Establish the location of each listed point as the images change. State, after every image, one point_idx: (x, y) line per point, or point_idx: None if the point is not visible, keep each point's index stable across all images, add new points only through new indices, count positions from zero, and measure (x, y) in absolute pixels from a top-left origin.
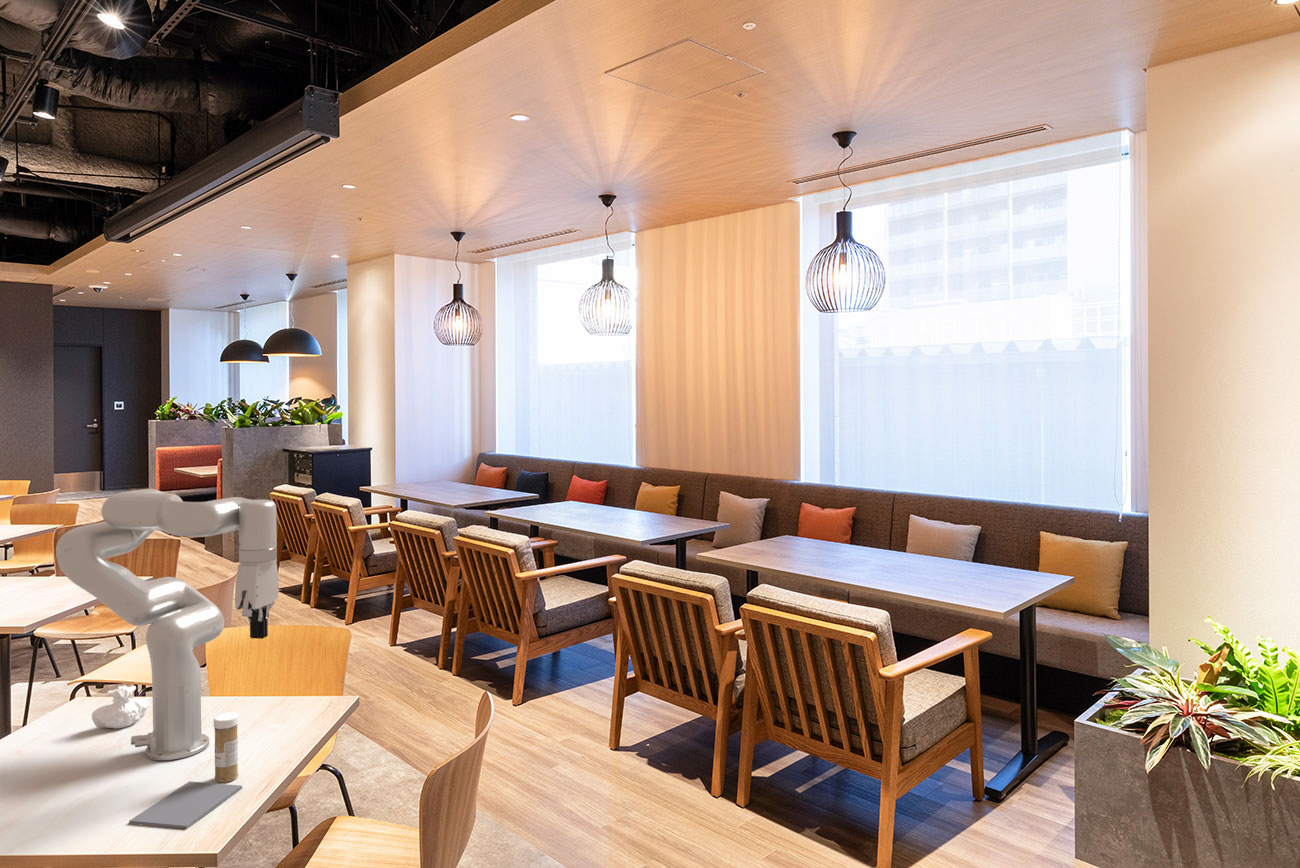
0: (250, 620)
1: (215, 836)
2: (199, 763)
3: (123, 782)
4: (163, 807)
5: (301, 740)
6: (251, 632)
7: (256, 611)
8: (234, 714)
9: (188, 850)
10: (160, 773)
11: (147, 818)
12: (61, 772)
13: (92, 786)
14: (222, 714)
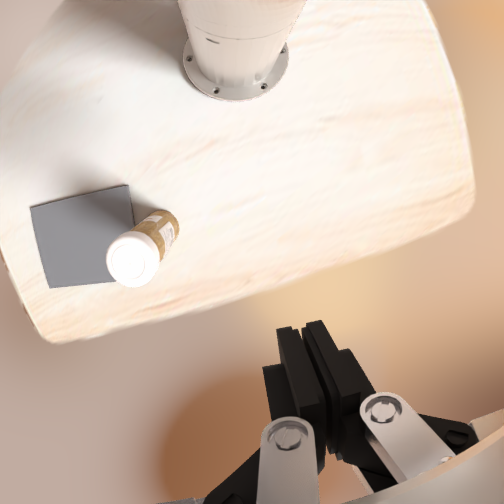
0: (268, 436)
1: (59, 327)
2: (195, 135)
3: (109, 82)
4: (62, 220)
5: (325, 243)
6: (282, 354)
7: (380, 453)
8: (144, 275)
9: (34, 319)
10: (146, 105)
11: (39, 226)
12: None
13: (91, 55)
14: (132, 247)
